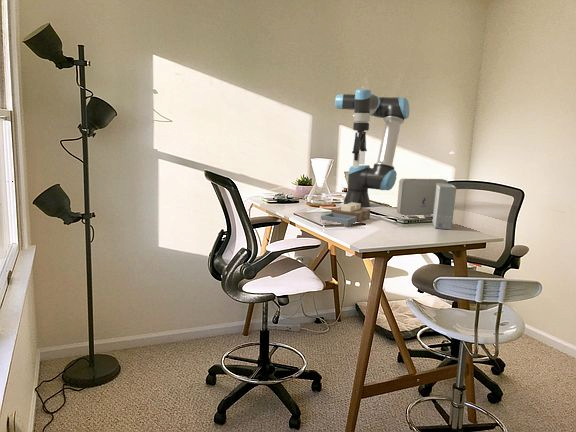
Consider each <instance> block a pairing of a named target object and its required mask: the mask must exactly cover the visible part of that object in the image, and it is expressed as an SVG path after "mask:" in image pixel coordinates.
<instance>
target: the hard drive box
mask: <svg viewBox="0 0 576 432" xmlns="http://www.w3.org/2000/svg"><path fill="white" fill-rule="evenodd" d="M456 195H457V187H456V186H455V185H454V184H452V183H448V184H443V183H436V193H435V202H434V211H433V214H432V215H433V216H432V217H433V219H431V220H432V224H433V228H434V229H441V230H442V229H443V230H452V229H453V228H452V227H453V219H454V211H455V204H456Z"/></svg>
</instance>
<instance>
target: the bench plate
mask: <svg viewBox="0 0 576 432" xmlns="http://www.w3.org/2000/svg"><path fill="white" fill-rule="evenodd" d="M330 210H331V212H330V213H337V214H343V215H349V216H356V217H357V222H360V223H363V222H365V221H368V220H370V219H371V218H370V217H371V208H366V207H360V209H357V210H354V211H351V212H349V211H342V210H341V206H338V207H335V208H333V209H330Z"/></svg>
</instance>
